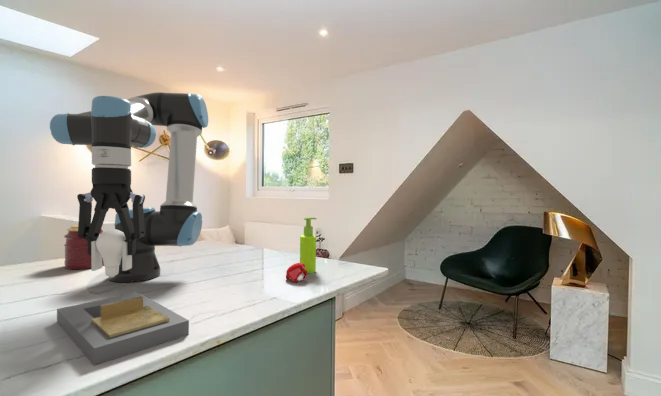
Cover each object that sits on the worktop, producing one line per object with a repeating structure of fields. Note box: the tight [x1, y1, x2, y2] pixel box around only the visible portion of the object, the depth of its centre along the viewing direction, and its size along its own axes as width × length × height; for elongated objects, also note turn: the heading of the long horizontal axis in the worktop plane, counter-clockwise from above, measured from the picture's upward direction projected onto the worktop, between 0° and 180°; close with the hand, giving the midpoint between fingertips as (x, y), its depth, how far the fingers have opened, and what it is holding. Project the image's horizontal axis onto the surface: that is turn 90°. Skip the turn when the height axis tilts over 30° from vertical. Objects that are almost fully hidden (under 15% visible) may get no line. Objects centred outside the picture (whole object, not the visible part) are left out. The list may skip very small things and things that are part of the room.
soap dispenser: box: [299, 216, 317, 274], centre depth 128 cm, size 6×7×20 cm
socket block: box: [56, 291, 190, 366], centre depth 75 cm, size 28×17×3 cm, turn 49°
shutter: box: [92, 296, 170, 338], centre depth 71 cm, size 11×11×3 cm
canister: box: [63, 224, 104, 270], centre depth 129 cm, size 13×13×18 cm
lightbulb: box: [96, 228, 126, 278], centre depth 78 cm, size 6×6×11 cm
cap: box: [285, 262, 308, 283], centre depth 115 cm, size 8×6×6 cm
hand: (112, 269), depth 78 cm, fingers closed on lightbulb, 6 cm apart
